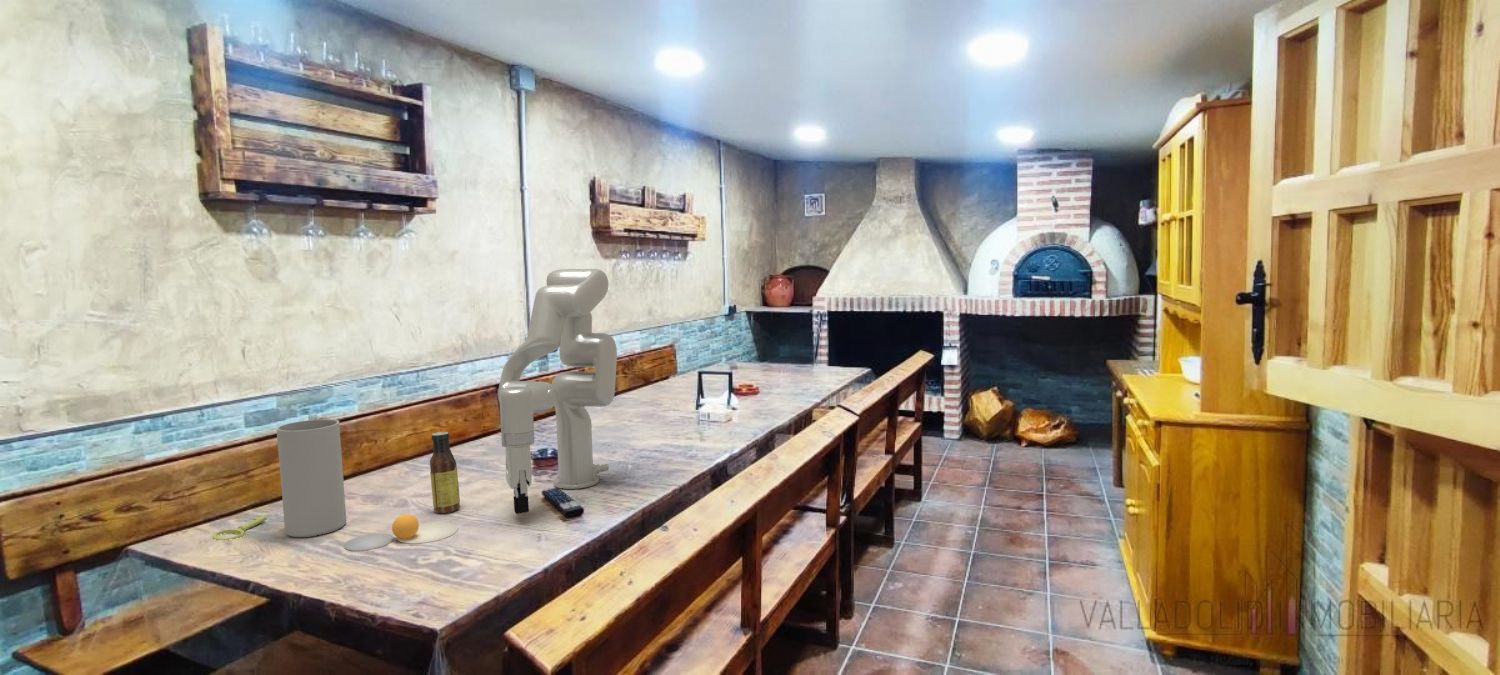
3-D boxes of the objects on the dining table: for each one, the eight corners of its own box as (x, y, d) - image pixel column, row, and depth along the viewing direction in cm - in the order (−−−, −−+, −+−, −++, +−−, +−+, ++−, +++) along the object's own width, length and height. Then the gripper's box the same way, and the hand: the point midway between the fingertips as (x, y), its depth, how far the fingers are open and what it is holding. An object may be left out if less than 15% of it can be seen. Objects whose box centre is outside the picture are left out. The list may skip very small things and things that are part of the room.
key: (269, 523, 178) (268, 514, 178) (238, 542, 166) (237, 533, 165) (238, 524, 177) (237, 516, 177) (205, 544, 165) (204, 535, 165)
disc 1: (386, 530, 170) (386, 529, 170) (400, 542, 163) (400, 541, 163) (338, 542, 163) (338, 541, 163) (350, 554, 156) (350, 553, 156)
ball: (388, 522, 166) (407, 536, 168) (384, 534, 161) (404, 548, 163) (406, 505, 166) (425, 519, 168) (403, 516, 161) (423, 531, 163)
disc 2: (446, 519, 177) (446, 518, 177) (466, 532, 168) (466, 532, 168) (389, 532, 168) (388, 532, 168) (407, 548, 159) (407, 547, 159)
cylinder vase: (310, 541, 164) (302, 432, 161) (272, 534, 169) (263, 429, 166) (358, 522, 176) (351, 421, 173) (321, 517, 180) (314, 417, 178)
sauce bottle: (465, 508, 185) (461, 431, 183) (446, 515, 179) (441, 437, 177) (446, 504, 188) (442, 429, 186) (427, 512, 182) (422, 434, 180)
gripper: (497, 433, 180) (501, 505, 182) (505, 446, 167) (509, 524, 169) (529, 430, 183) (532, 500, 185) (539, 442, 170) (542, 519, 172)
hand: (521, 511), depth 177 cm, fingers closed
